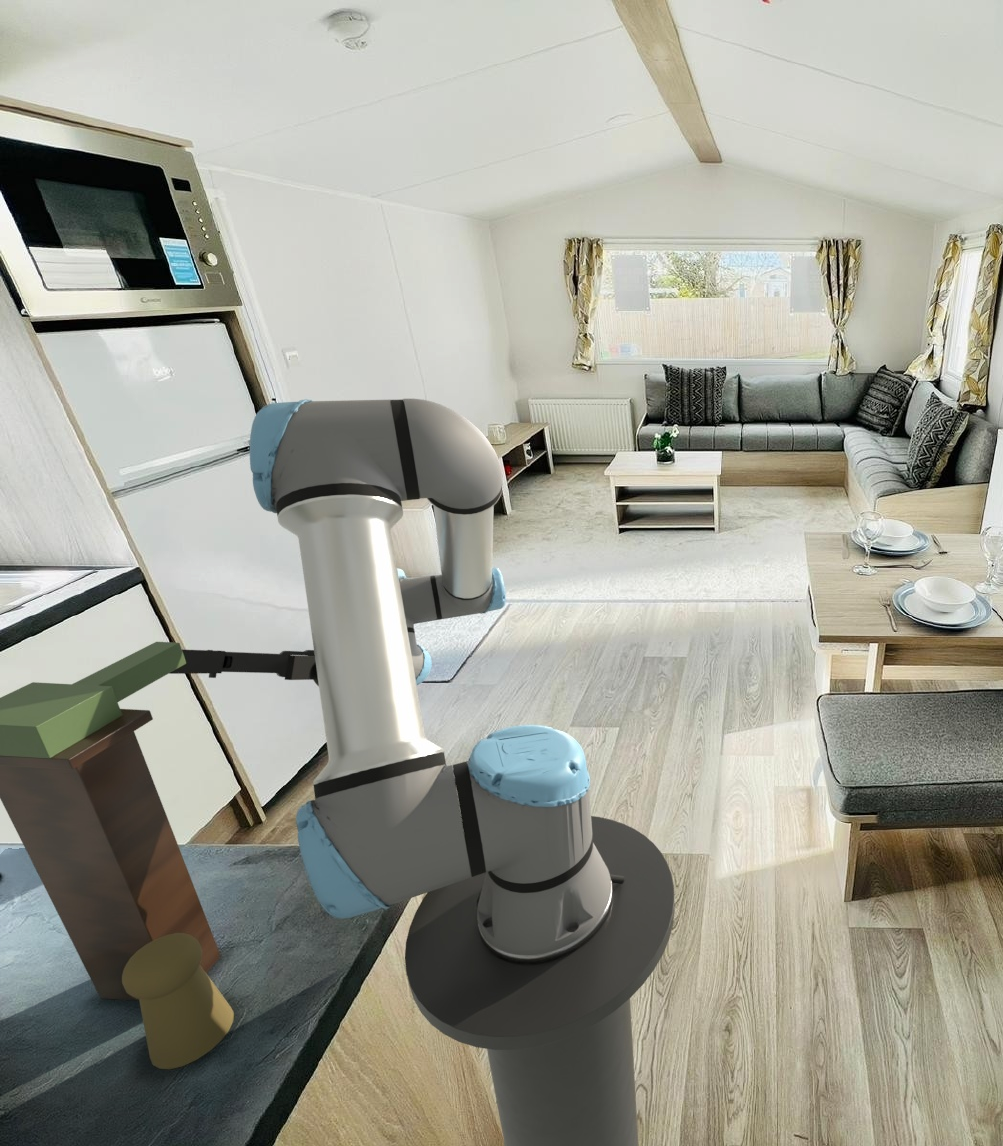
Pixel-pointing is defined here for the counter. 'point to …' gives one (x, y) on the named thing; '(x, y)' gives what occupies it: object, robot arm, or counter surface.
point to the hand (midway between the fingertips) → (229, 664)
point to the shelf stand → (105, 849)
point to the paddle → (78, 703)
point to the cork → (176, 1000)
